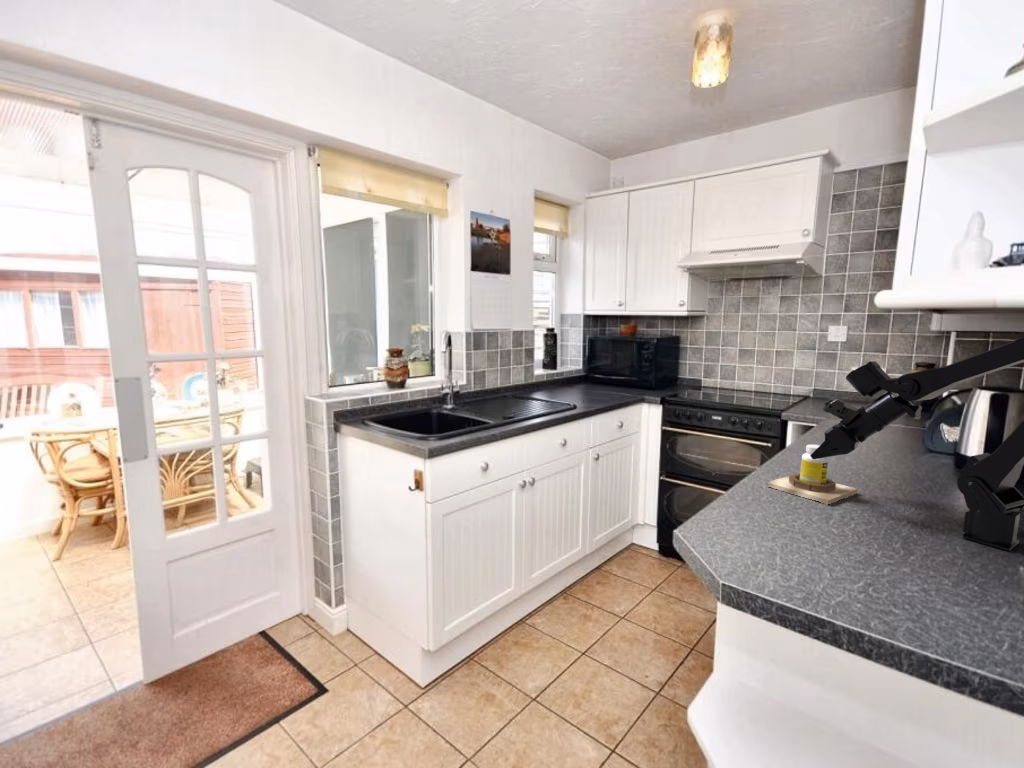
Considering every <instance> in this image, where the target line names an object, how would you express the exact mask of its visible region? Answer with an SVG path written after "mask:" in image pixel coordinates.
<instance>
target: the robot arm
mask: <svg viewBox="0 0 1024 768" xmlns="http://www.w3.org/2000/svg"><path fill="white" fill-rule="evenodd" d="M1023 363H1024V336H1020V337H1017V338H1016V339H1014V340H1013V341H1011V342H1008V343H1005V344H1002V345H999V346H997V347H995V348H992V349H988V350H986V351H983V352H981V353H978V354H975V355H972V356H969V357H967V358H964V359H961V360H959V361H956V362H952V363H950V364H947V365H945V366H940V367H935V368H930V369H923V370H920V371H913V372H908V373H905V374H902V375H900V376H899V377H890V376H889V375H888V374H887V373H886V372H885V371H884V369H882V368H881V366H880V364H879V363H878V362H877V361H874V360H873V361H867V363H865V364H862V365H861V366H859V367H857V368H856V369H853V370H851V371H850V372H849V373H848V374H847V375H846V377H845V379H846V380H847V382H848V383H849V384H850V385H851V387H852V388H854V389H855V391H856V392H857V393H858V394H859V395H860V396H861V398H863V399H868V398H869V399H871V400H873V401H872V402H870V403H868V404H867V405H866V406H864V405H862V406H861V407H860V408H857V407H856V406H853V405H852V404H850V403H848V402H846V401H845V400H842V399H841V398H839V397H837V396H831V397H829V398H828V400H826V402H825V403H824V406H823V407H822V408H821V410H822V411H823V412H825V413H828V414H831V415H833V416H834V417H836V418H839V419H840V421H839V422H838V423H837V424H834V425H833V426H831V427H829V428H828V429H826V430H825V431H824V433H823V434H824V441H823V442H822V443H821V444H820V446H819V447H818V448H817V449H816V450H815V451H814V452H813V453H812V454H811V455H810V456H811V458H812V459H819V458H824V457H827V458H829V457H835V456H841V455H842V456H845V455H849V454H851V453H852V452H853V451H854V450H856V449H857V448H858V447H859V443H863V442H865V441H866V440H868V439H869V438H871V437H872V436H873V435H875V434H877V433H879V432H881V431H883V430H884V429H885V428H887V427H888V426H890V425H891V424H893V423H895V422H896V421H898V420H899V419H901V418H903V417H904V416H906V415H909V416H910V417H911V418H912V419H915V420H920V419H921V417H922V416H921V413H922V409H923V407H922V405H914V404H913V402H917V401H919V402H920V401H927V400H932V399H936V398H937V397H940V396H941V395H944V394H946V393H947V392H949V391H950V390H952V389H954V388H955V387H956V386H958V385H960V384H962V383H966V382H967V381H971V380H974V379H976V378H979V377H983V376H985V375H989V374H992V373H995V372H997V371H1001V370H1004V369H1007V368H1010V367H1013V366H1017V365H1019V364H1023ZM1023 467H1024V419H1023V420H1022V421H1021V422H1020V423H1019V425H1017V426H1016V427H1015V429H1013V431H1012V432H1011V433H1010V434H1009V435H1008V436H1007V437H1006V438H1005V439H1004V441H1002V443H1001V444H1000V445H999V446H998V447H997V448H996V449H995V450H994V451H993V452H992V453H989V452H985V453H980V454H975V455H971V456H970V457H969V458H968V460H966V464H964V466H963V467H962V468H960V469H957V470H956V473H958V476H957V478H956V481H955V483H956V484H957V488H958V490H959V492H960V493H961V494H962V495H963V497H964V501H965V504H966V508H967V509H968V510H966V511H965V512H964V517H963V524H962V525H963V526H962V532H963V534H962V538H963V539H965V540H969V541H973V542H976V543H979V544H982V545H987V546H990V547H994V548H998V549H1001V550H1005V551H1011V550H1013V548H1015V547H1016V546H1017V545H1018V544H1019V543H1020V540H1019V539H1017V538H1018V537H1017V536H1018V532H1019V525H1020V517H1021V512H1020V511H1022V510H1024V495H1023V494H1022V493H1021V492H1020V490H1018V489H1017V488H1016V487H1015V485H1016V483H1017V482H1018V480H1019V479H1020V476H1021V473H1022V471H1023ZM1018 511H1019V512H1018Z"/></svg>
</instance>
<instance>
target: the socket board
mask: <svg viewBox="0 0 1024 768" xmlns="http://www.w3.org/2000/svg"><path fill="white" fill-rule="evenodd" d="M767 486H769V487H772V488H775V489H778V490H782V491H785V492H788V493H791V494H795V495H798V496H801V497H800V498H802V497H805V498H809V499H812V500H816V501H819V502H822V503H825V504H830V503H833V502H835V501H838V500H840V499H843V498H845V497H847V496H850V495H852V496H854V495H853V494H855V493H857V494H858V488H855V487H852V486H847V485H844V484H839V483H837V482H835V481H833V480H832V479H831V478H829V477H826V484H825V485H820V484H810V483H806V482H802V481H800V472H799V473H798V472H796V473H793V474H790V475H787V476H783V477H780V478H777V479H774V480H771V481H767V482H766V487H767ZM775 489H774V490H775ZM778 490H777V491H778ZM785 492H784V493H785ZM788 493H787V494H788ZM791 494H790V495H791ZM795 495H794V496H795ZM855 495H856V494H855ZM798 496H797V497H798ZM850 497H851V496H850ZM805 498H804V499H805ZM847 498H848V497H847ZM845 499H846V498H845ZM812 500H811V501H812ZM843 500H844V499H843ZM840 501H841V500H840ZM838 502H839V501H838ZM822 503H821V504H822ZM835 503H836V502H835ZM825 504H824V505H825ZM833 504H834V503H833ZM830 505H831V504H830Z"/></svg>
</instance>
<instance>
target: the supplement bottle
mask: <svg viewBox="0 0 1024 768" xmlns="http://www.w3.org/2000/svg"><path fill="white" fill-rule="evenodd" d="M820 445H821V444H820ZM820 445H819V444H807V445H806V447H805V451H806V452H805V453H803V454H802V456H801V462H800V472H799V474H800V481H802V482H806V483H810V484H820V485H825V484H826V478H827V477H828V476H827V473H828V468H829V467H828V465H829V459H828V458H829V457H824V458H819V459H812V458H811V456H810V455H811V454H812V453H813V452H814V451H815V450H816V449H817V448H818V447H819V446H820Z"/></svg>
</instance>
